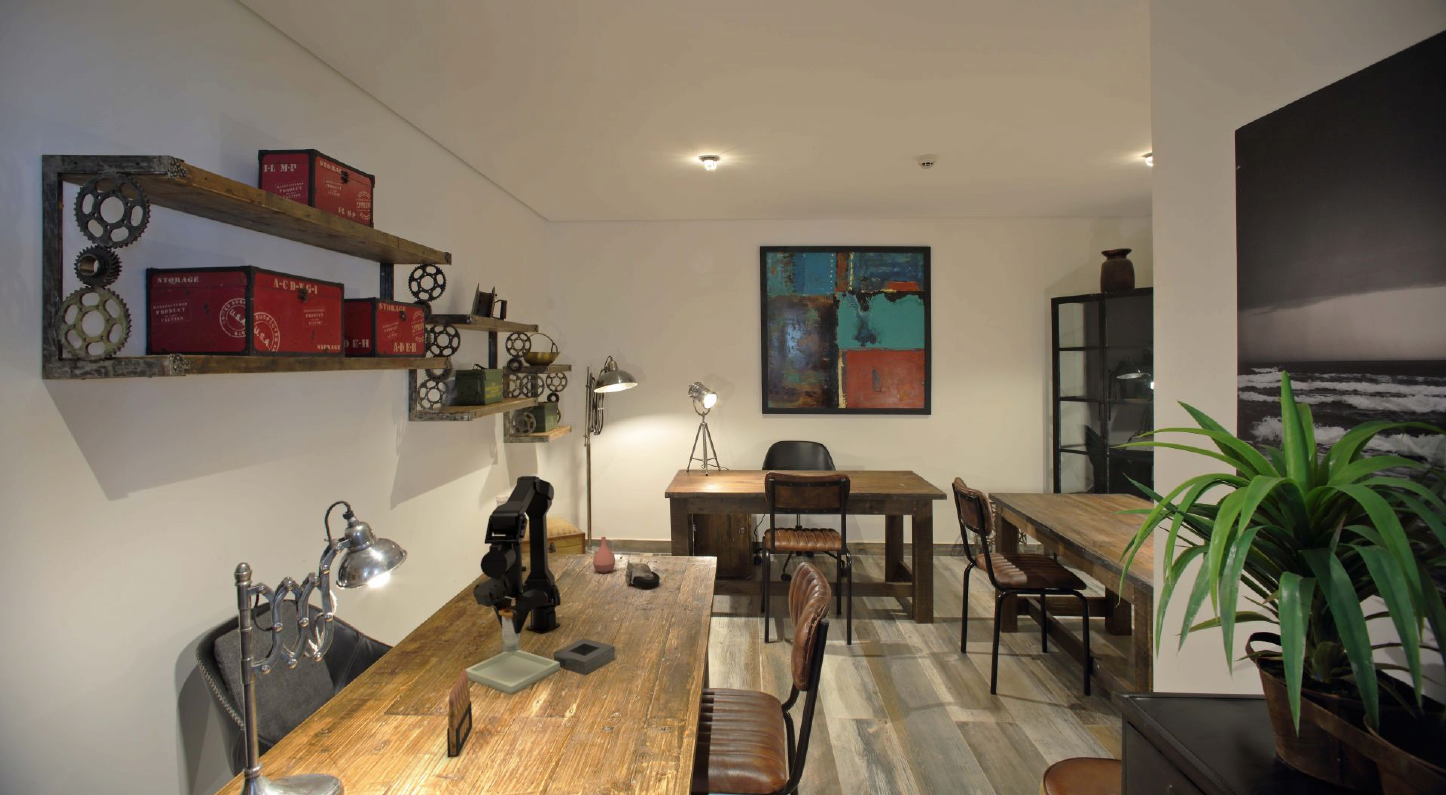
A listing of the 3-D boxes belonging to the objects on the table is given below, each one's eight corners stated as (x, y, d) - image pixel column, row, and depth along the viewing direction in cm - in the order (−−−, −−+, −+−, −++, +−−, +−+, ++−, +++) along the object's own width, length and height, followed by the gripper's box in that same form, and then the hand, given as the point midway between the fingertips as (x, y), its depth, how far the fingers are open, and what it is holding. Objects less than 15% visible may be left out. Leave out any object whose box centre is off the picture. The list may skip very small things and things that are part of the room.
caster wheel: (659, 596, 213) (628, 595, 210) (653, 578, 224) (623, 577, 221) (663, 576, 212) (632, 575, 209) (656, 560, 222) (626, 558, 219)
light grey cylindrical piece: (495, 650, 153) (494, 609, 153) (513, 642, 157) (511, 602, 157) (510, 655, 151) (508, 613, 150) (527, 647, 155) (526, 606, 154)
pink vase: (610, 575, 227) (609, 540, 226) (589, 574, 228) (588, 539, 228) (618, 569, 234) (618, 535, 234) (598, 568, 236) (597, 534, 235)
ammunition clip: (462, 726, 132) (460, 666, 131) (472, 725, 132) (470, 665, 131) (447, 757, 121) (445, 692, 121) (458, 756, 121) (455, 691, 121)
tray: (464, 677, 153) (463, 670, 153) (513, 655, 164) (513, 647, 164) (511, 695, 144) (511, 687, 144) (559, 669, 156) (559, 662, 156)
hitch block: (554, 665, 158) (553, 652, 158) (584, 650, 167) (583, 638, 167) (585, 675, 153) (584, 662, 153) (614, 658, 161) (614, 646, 161)
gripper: (452, 567, 151) (454, 635, 152) (507, 580, 141) (510, 653, 142) (493, 555, 161) (495, 619, 162) (548, 566, 151) (550, 634, 151)
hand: (511, 631), depth 154 cm, fingers closed on light grey cylindrical piece, 4 cm apart
